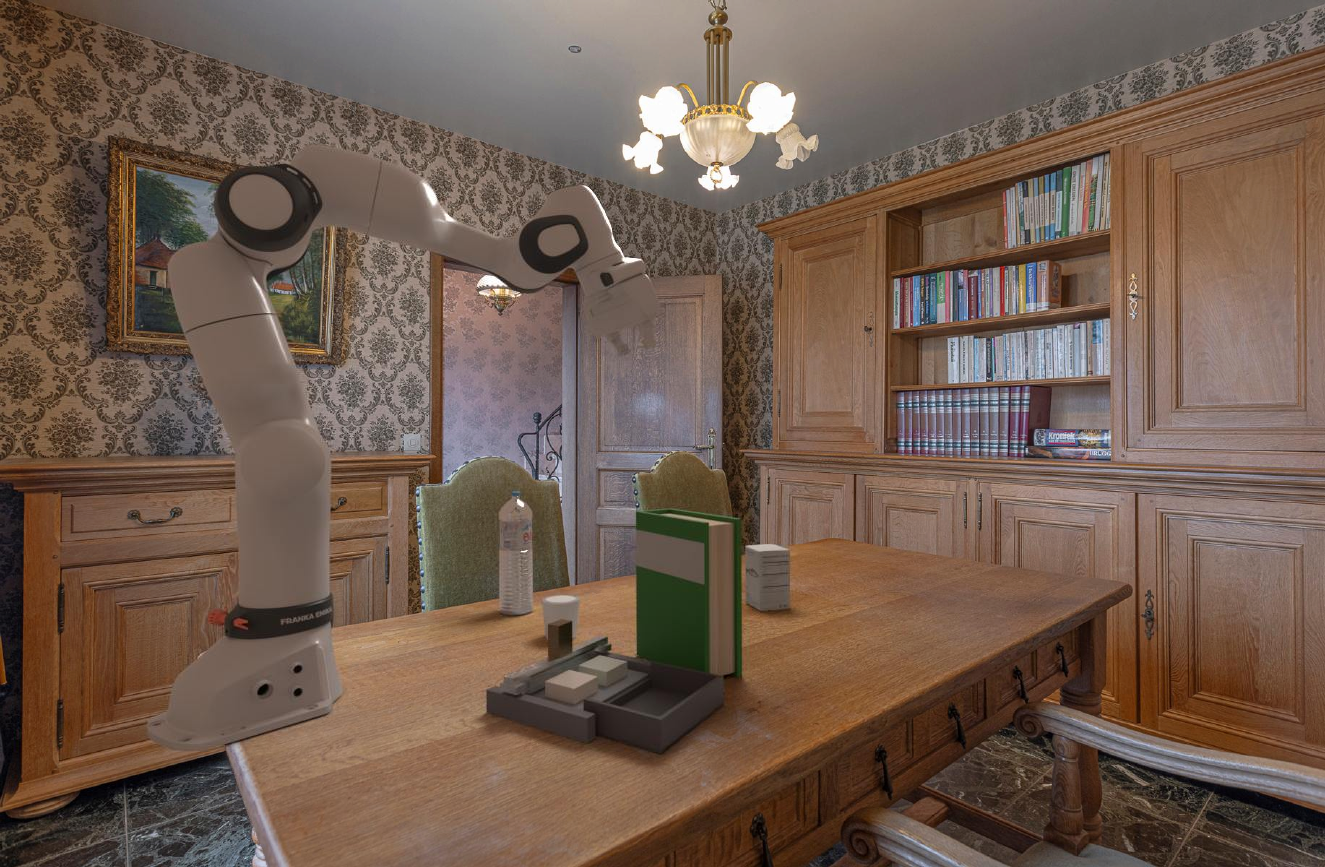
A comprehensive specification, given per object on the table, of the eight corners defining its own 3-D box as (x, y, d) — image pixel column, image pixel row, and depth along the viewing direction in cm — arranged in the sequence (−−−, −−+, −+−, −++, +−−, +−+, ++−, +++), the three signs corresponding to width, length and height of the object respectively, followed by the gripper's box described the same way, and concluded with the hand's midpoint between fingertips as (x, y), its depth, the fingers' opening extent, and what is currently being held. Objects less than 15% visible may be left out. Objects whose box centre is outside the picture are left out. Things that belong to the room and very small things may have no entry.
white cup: (572, 643, 116) (572, 604, 116) (536, 641, 118) (535, 602, 118) (585, 632, 123) (584, 594, 123) (550, 630, 124) (550, 592, 124)
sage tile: (606, 686, 91) (606, 672, 91) (578, 679, 94) (578, 665, 94) (627, 675, 96) (627, 661, 96) (599, 668, 98) (599, 655, 98)
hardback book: (742, 676, 100) (741, 518, 100) (704, 687, 96) (704, 522, 96) (671, 646, 115) (671, 508, 115) (636, 655, 110) (635, 511, 110)
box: (661, 754, 76) (661, 719, 76) (579, 730, 82) (579, 698, 82) (723, 705, 90) (723, 675, 90) (649, 687, 96) (649, 660, 96)
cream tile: (574, 704, 85) (574, 688, 85) (545, 696, 88) (545, 681, 88) (597, 691, 90) (597, 676, 90) (569, 684, 92) (569, 669, 92)
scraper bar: (516, 703, 85) (516, 644, 85) (499, 698, 86) (499, 640, 86) (611, 657, 102) (611, 607, 102) (596, 653, 104) (595, 604, 104)
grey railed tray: (587, 743, 79) (587, 718, 79) (486, 712, 88) (486, 689, 88) (675, 686, 96) (675, 666, 96) (583, 665, 105) (583, 646, 105)
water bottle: (519, 605, 142) (518, 489, 142) (539, 611, 138) (539, 491, 138) (492, 612, 137) (491, 492, 137) (513, 618, 132) (512, 493, 132)
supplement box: (744, 603, 143) (744, 545, 143) (775, 600, 145) (774, 543, 145) (759, 611, 136) (758, 550, 136) (791, 608, 138) (791, 548, 138)
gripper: (567, 297, 122) (598, 365, 125) (617, 270, 105) (652, 350, 107) (594, 285, 125) (624, 352, 128) (648, 257, 108) (681, 335, 110)
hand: (637, 351), depth 118 cm, fingers open, 8 cm apart
